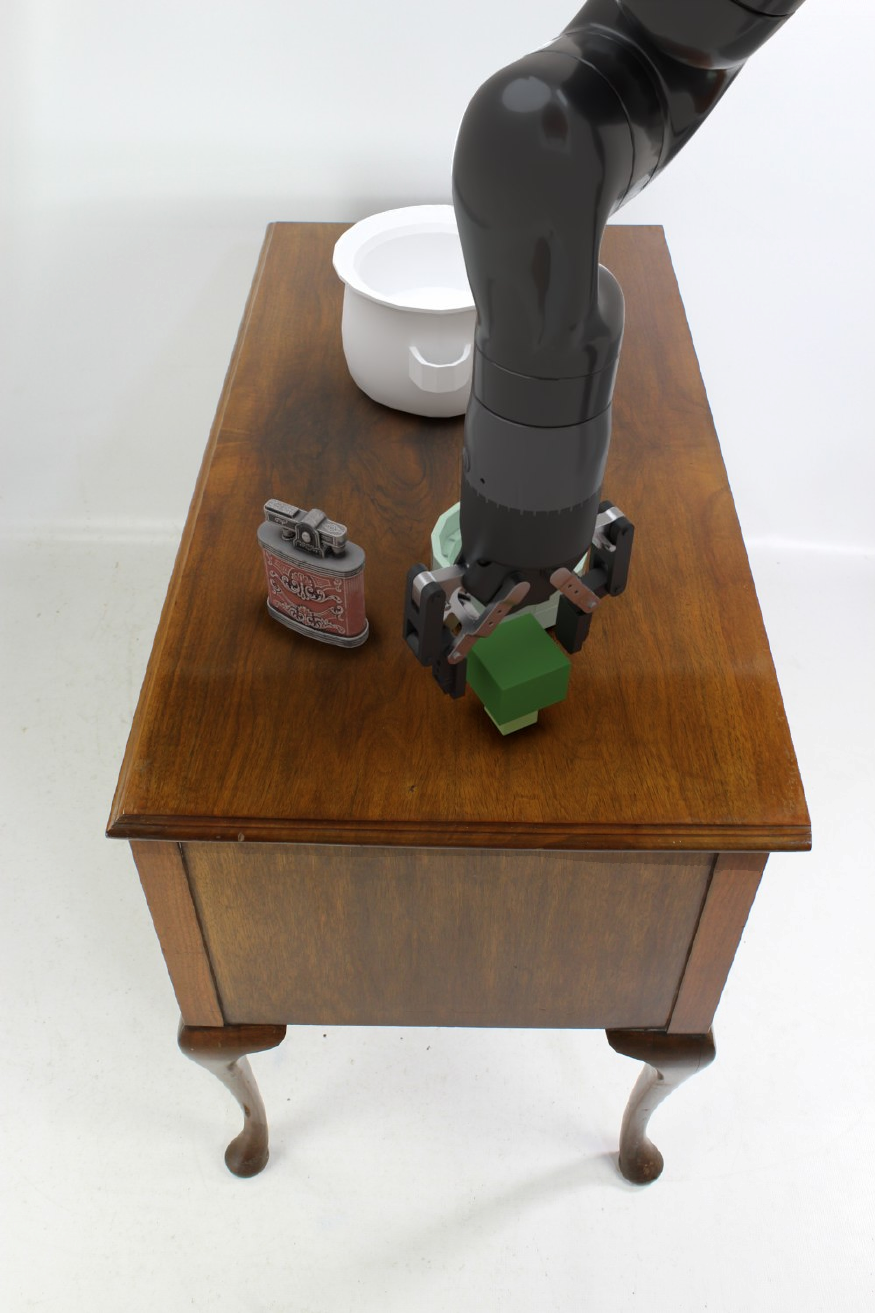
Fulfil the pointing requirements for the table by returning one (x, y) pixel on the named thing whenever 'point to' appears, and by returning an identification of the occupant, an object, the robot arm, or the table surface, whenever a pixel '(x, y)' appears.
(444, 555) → the bowl
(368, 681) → the table surface
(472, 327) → the pot
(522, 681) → the broccoli
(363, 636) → the lighter
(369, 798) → the table surface
